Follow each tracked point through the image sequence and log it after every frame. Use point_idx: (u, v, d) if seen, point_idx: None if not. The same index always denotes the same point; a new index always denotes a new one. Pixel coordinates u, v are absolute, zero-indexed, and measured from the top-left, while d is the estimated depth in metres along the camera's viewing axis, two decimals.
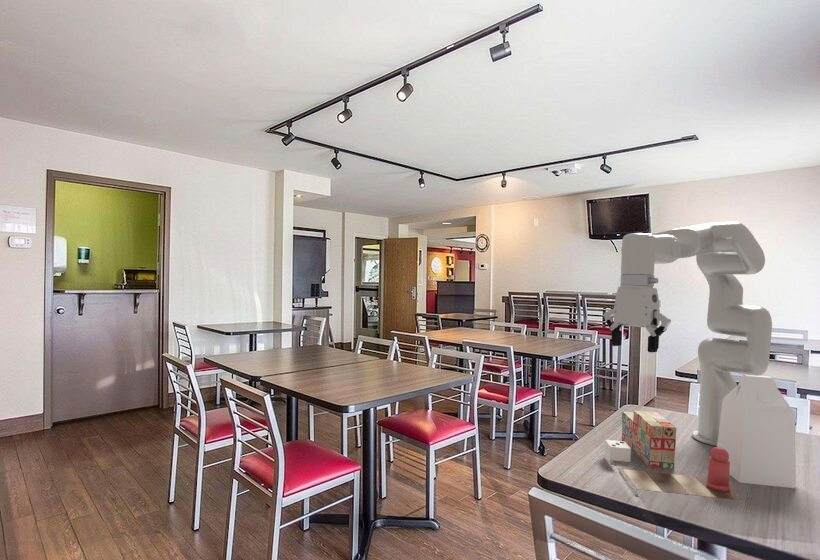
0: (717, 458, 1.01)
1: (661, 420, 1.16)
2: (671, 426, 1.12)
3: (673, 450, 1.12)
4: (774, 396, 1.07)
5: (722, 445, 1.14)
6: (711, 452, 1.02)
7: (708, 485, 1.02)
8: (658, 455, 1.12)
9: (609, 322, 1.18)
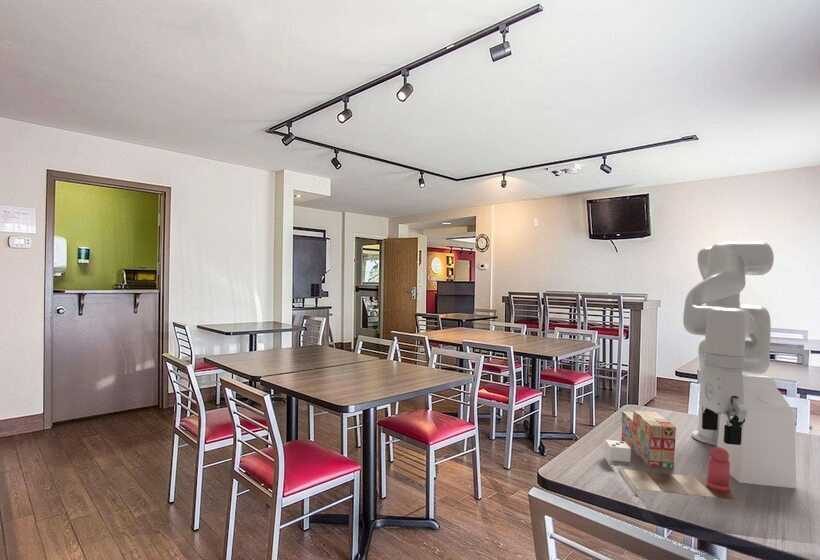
0: (717, 458, 1.01)
1: (660, 420, 1.16)
2: (671, 426, 1.13)
3: (673, 450, 1.12)
4: (774, 396, 1.07)
5: (722, 445, 1.14)
6: (711, 452, 1.02)
7: (708, 485, 1.02)
8: (658, 454, 1.12)
9: None
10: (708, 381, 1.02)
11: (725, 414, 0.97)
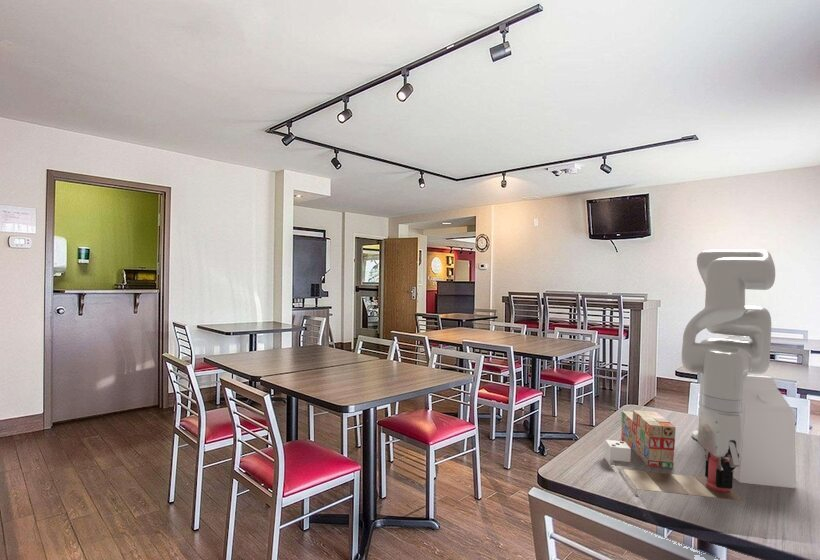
0: (716, 458, 1.01)
1: (660, 419, 1.17)
2: (670, 426, 1.13)
3: (672, 449, 1.12)
4: (774, 396, 1.07)
5: None
6: None
7: (708, 485, 1.02)
8: (657, 454, 1.13)
9: None
10: (706, 422, 1.03)
11: (719, 458, 0.99)
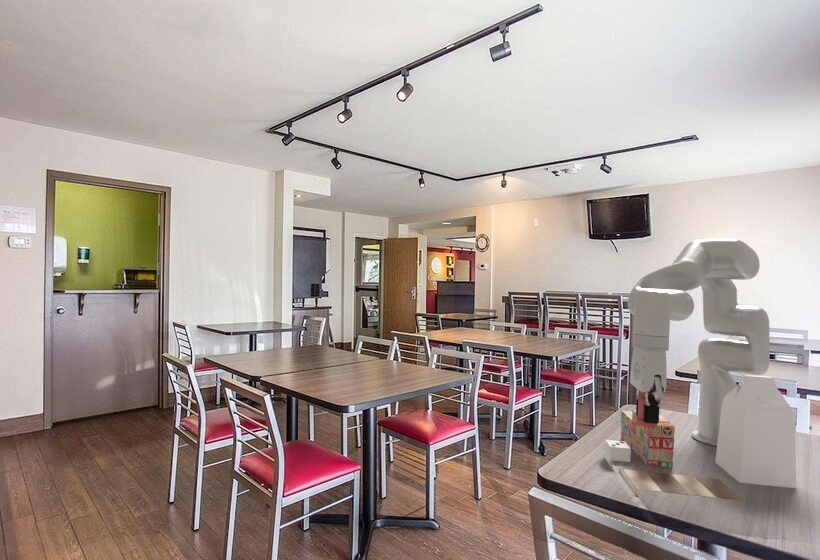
0: None
1: (659, 419, 1.17)
2: (669, 425, 1.13)
3: (671, 449, 1.12)
4: (774, 396, 1.07)
5: (722, 445, 1.14)
6: None
7: (637, 422, 1.04)
8: (657, 454, 1.13)
9: None
10: (636, 361, 1.05)
11: (646, 394, 1.02)
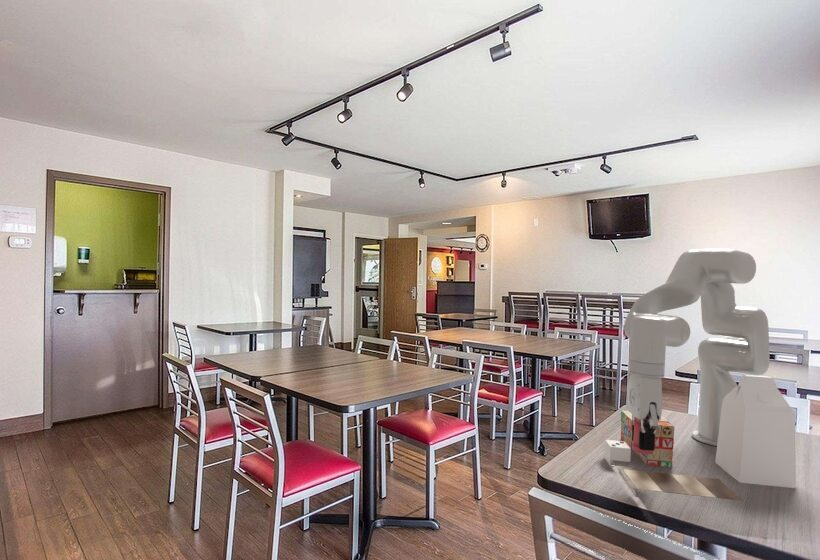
0: (640, 421, 1.03)
1: None
2: (669, 425, 1.13)
3: (671, 449, 1.13)
4: (774, 396, 1.07)
5: (722, 445, 1.14)
6: None
7: (633, 448, 1.05)
8: (656, 453, 1.13)
9: None
10: (632, 387, 1.05)
11: (642, 421, 1.02)
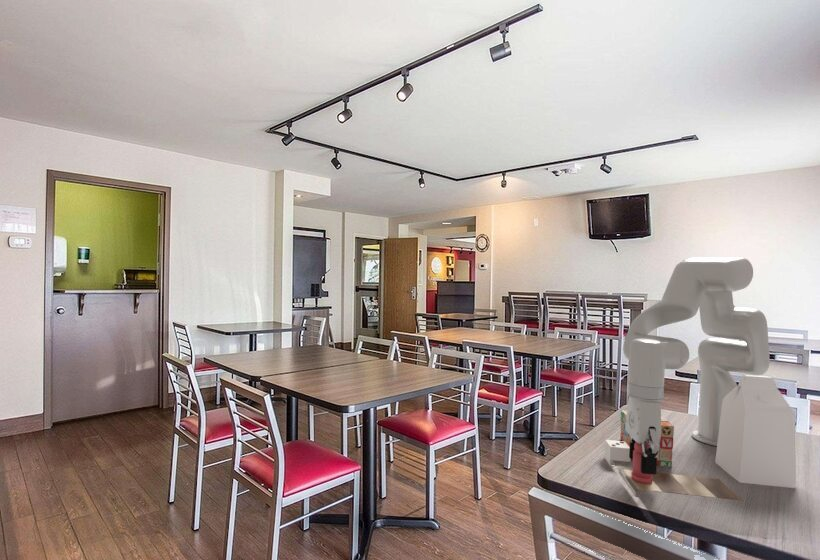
0: (639, 451, 1.04)
1: None
2: (669, 425, 1.13)
3: (671, 448, 1.13)
4: (774, 396, 1.07)
5: (722, 445, 1.14)
6: (635, 445, 1.05)
7: (632, 477, 1.05)
8: None
9: None
10: (631, 410, 1.05)
11: (642, 444, 1.01)
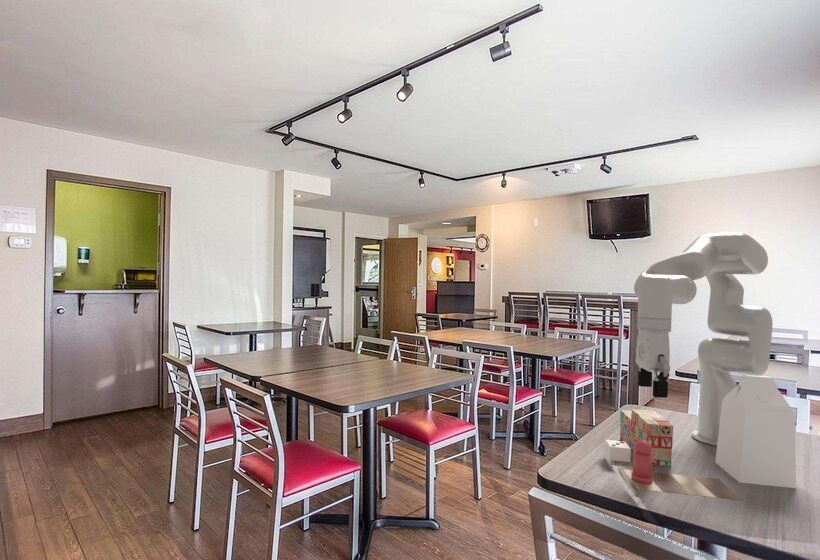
0: (639, 451, 1.04)
1: (658, 418, 1.17)
2: (668, 424, 1.14)
3: (670, 448, 1.13)
4: (774, 396, 1.07)
5: (722, 445, 1.14)
6: (635, 445, 1.05)
7: (632, 477, 1.05)
8: (655, 453, 1.14)
9: None
10: (641, 342, 1.13)
11: (653, 371, 1.08)
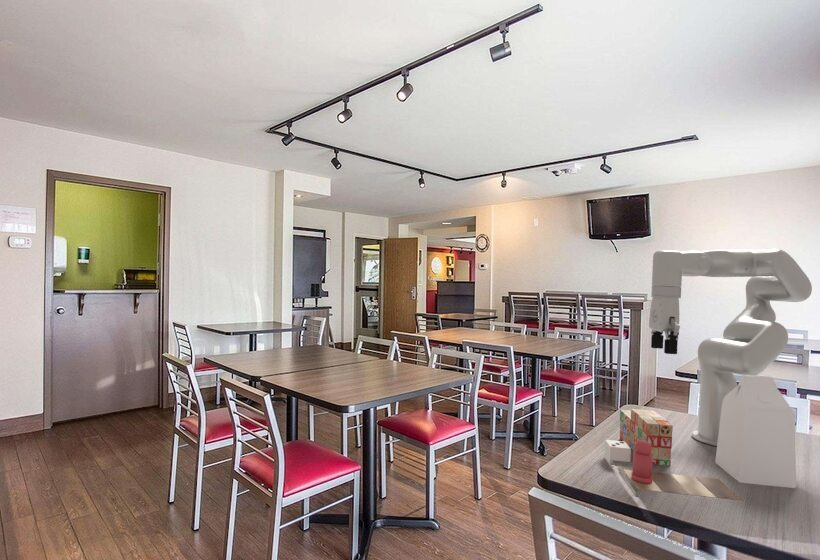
0: (639, 451, 1.04)
1: (658, 418, 1.18)
2: (667, 424, 1.14)
3: (669, 448, 1.13)
4: (774, 396, 1.07)
5: (722, 445, 1.14)
6: (635, 445, 1.05)
7: (632, 477, 1.05)
8: (655, 452, 1.14)
9: None
10: (654, 308, 1.30)
11: (665, 331, 1.26)
